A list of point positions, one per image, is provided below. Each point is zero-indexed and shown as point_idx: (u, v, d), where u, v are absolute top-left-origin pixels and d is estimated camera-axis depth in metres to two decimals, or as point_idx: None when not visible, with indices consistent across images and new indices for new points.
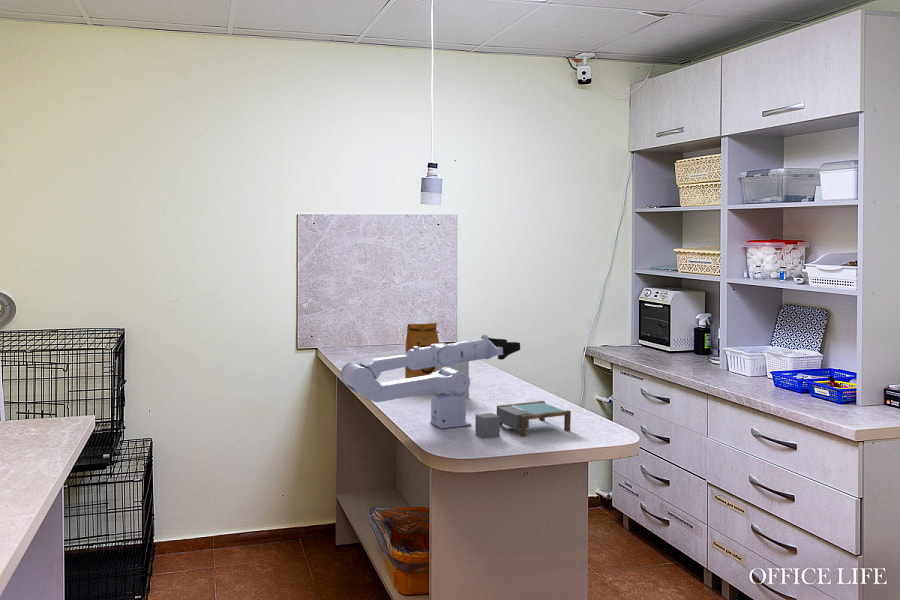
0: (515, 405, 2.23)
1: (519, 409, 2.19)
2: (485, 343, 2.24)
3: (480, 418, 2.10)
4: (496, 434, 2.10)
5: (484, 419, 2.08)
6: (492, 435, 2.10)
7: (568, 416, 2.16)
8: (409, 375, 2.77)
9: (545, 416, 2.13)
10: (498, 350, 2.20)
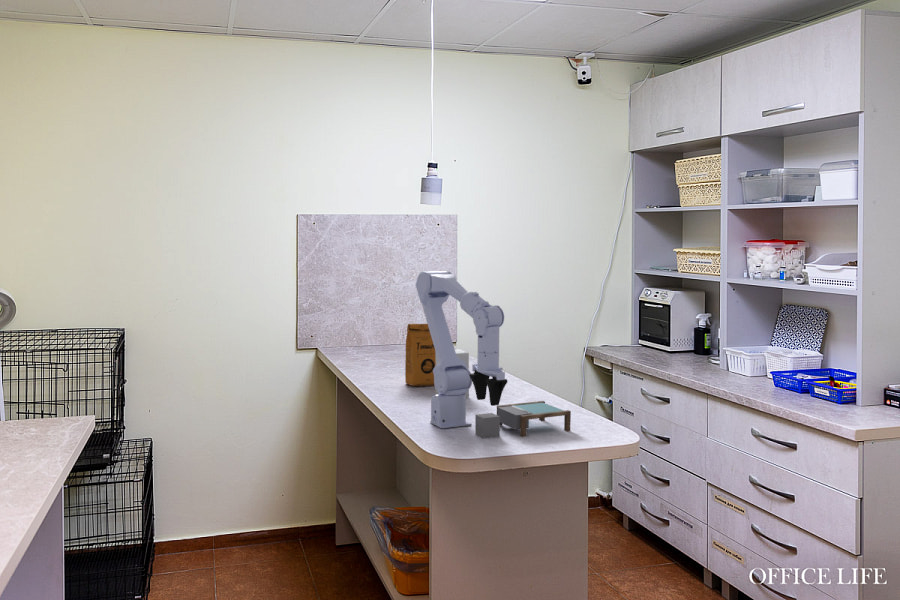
0: (515, 405, 2.23)
1: (519, 409, 2.19)
2: (498, 366, 2.09)
3: (480, 418, 2.10)
4: (496, 434, 2.10)
5: (484, 419, 2.08)
6: (492, 435, 2.10)
7: (568, 416, 2.16)
8: (409, 375, 2.77)
9: (545, 416, 2.13)
10: (502, 374, 2.04)
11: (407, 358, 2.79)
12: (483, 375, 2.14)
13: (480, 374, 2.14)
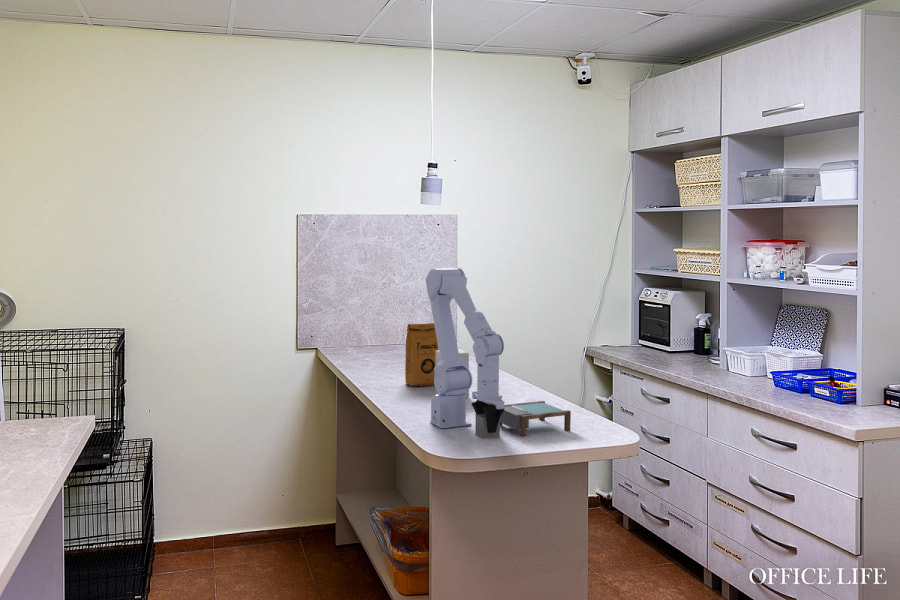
0: (515, 405, 2.23)
1: (519, 409, 2.19)
2: (497, 394, 2.10)
3: (480, 418, 2.10)
4: (496, 434, 2.10)
5: (484, 419, 2.08)
6: (492, 435, 2.10)
7: (568, 416, 2.16)
8: (409, 375, 2.77)
9: (545, 416, 2.13)
10: (502, 403, 2.04)
11: (407, 358, 2.79)
12: (485, 404, 2.13)
13: (482, 403, 2.13)
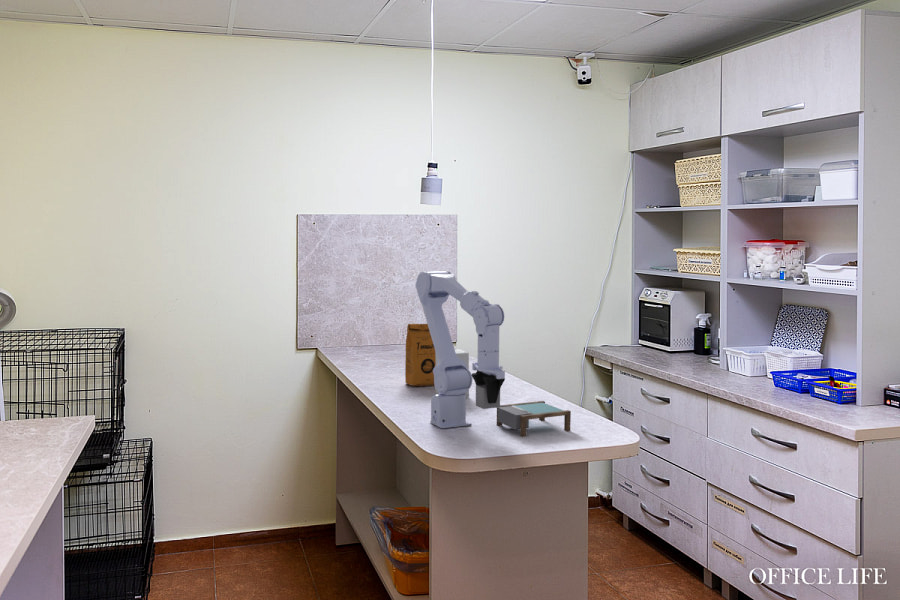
0: (515, 405, 2.23)
1: (519, 409, 2.19)
2: (498, 364, 2.09)
3: (480, 388, 2.09)
4: (497, 405, 2.10)
5: (484, 389, 2.08)
6: (492, 405, 2.09)
7: (568, 416, 2.16)
8: (409, 375, 2.77)
9: (545, 416, 2.13)
10: (502, 373, 2.04)
11: (407, 358, 2.79)
12: (485, 375, 2.13)
13: (482, 374, 2.12)
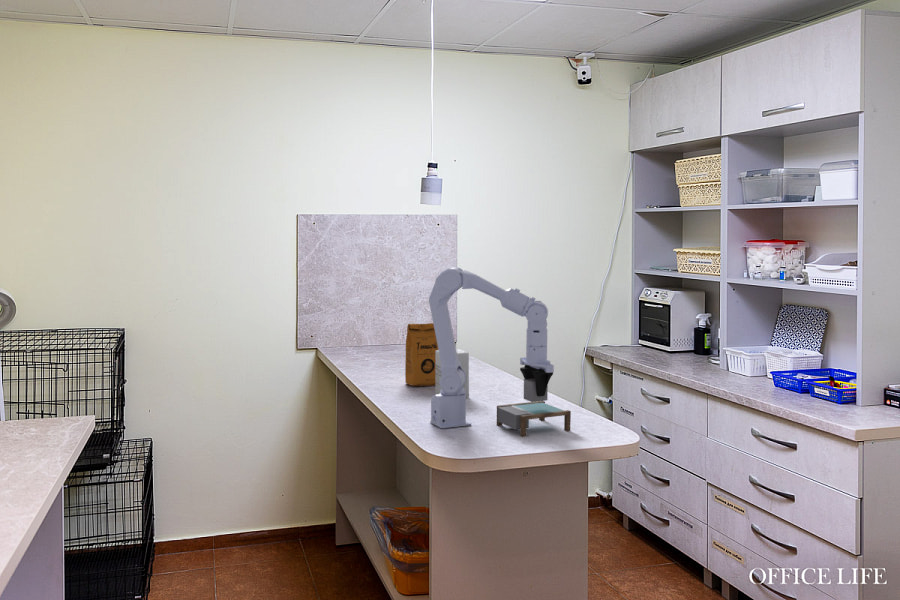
0: (515, 405, 2.23)
1: (519, 409, 2.19)
2: (546, 359, 2.17)
3: (529, 382, 2.17)
4: (544, 398, 2.18)
5: (533, 383, 2.16)
6: (540, 398, 2.17)
7: (568, 416, 2.16)
8: (409, 375, 2.77)
9: (545, 416, 2.13)
10: (551, 367, 2.12)
11: (407, 358, 2.79)
12: (533, 369, 2.21)
13: (530, 368, 2.21)
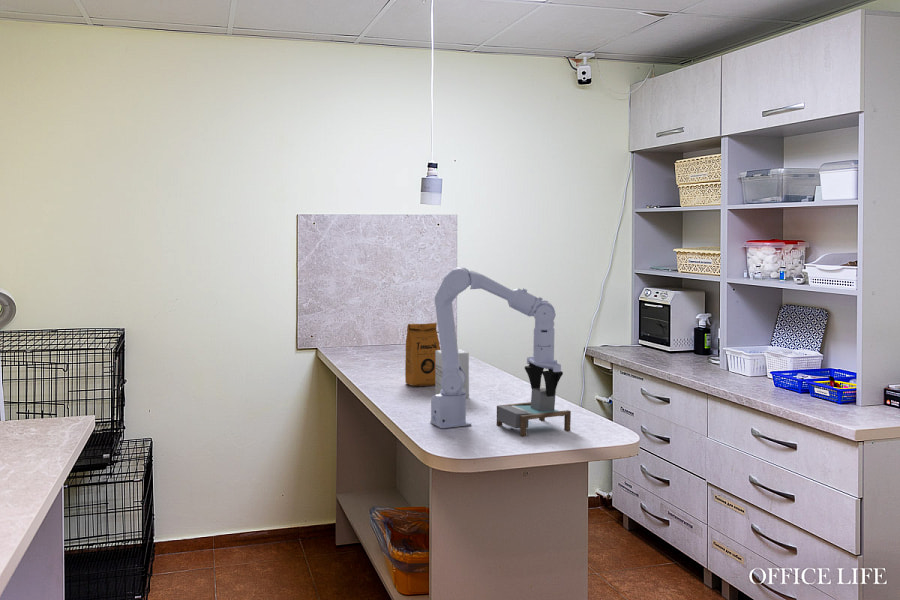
0: (516, 406, 2.24)
1: (519, 409, 2.19)
2: (553, 358, 2.19)
3: (537, 391, 2.19)
4: (551, 408, 2.20)
5: (541, 392, 2.18)
6: (547, 408, 2.19)
7: (568, 416, 2.16)
8: (409, 375, 2.77)
9: (545, 416, 2.13)
10: (559, 366, 2.14)
11: (407, 358, 2.79)
12: (538, 367, 2.24)
13: (535, 367, 2.23)
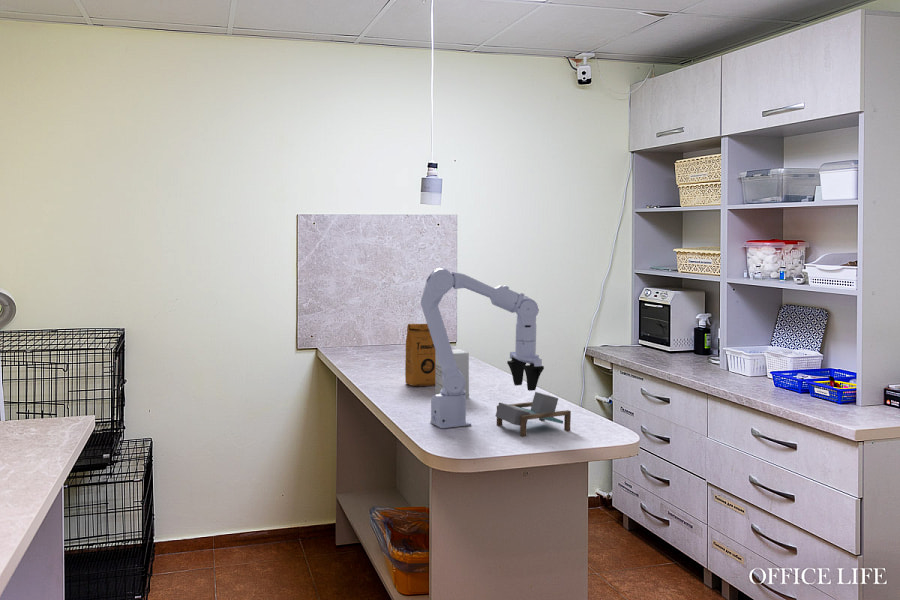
0: None
1: (519, 409, 2.19)
2: (535, 353, 2.22)
3: (540, 395, 2.20)
4: None
5: (544, 396, 2.18)
6: None
7: (568, 416, 2.16)
8: (409, 375, 2.77)
9: (545, 416, 2.13)
10: (539, 361, 2.17)
11: (407, 358, 2.79)
12: (520, 362, 2.27)
13: (517, 361, 2.27)
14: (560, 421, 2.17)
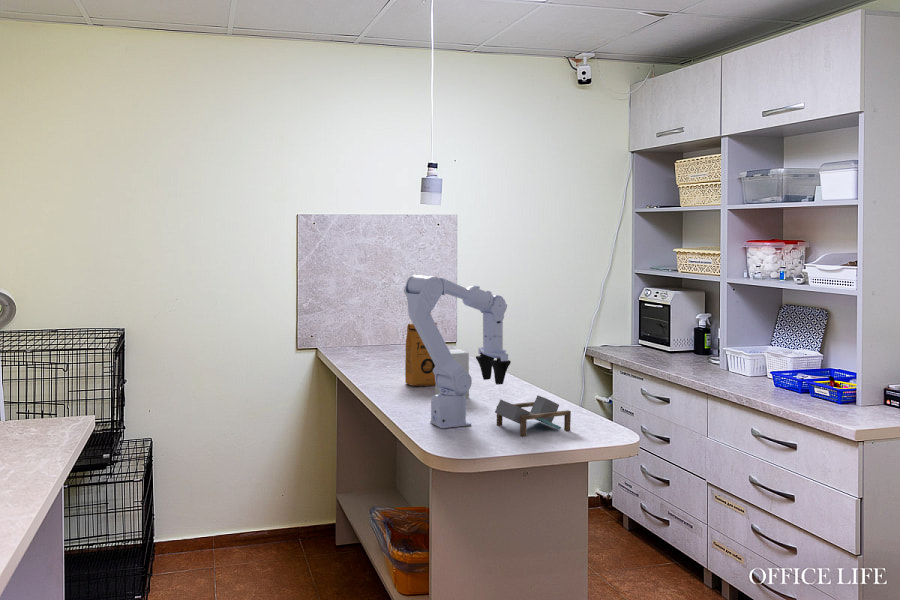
0: None
1: None
2: (502, 348, 2.30)
3: (542, 398, 2.20)
4: (550, 419, 2.20)
5: (546, 400, 2.19)
6: (546, 418, 2.19)
7: (568, 416, 2.16)
8: (409, 375, 2.77)
9: (545, 416, 2.13)
10: (506, 356, 2.25)
11: (407, 358, 2.79)
12: (488, 357, 2.35)
13: (485, 356, 2.35)
14: (558, 427, 2.17)
